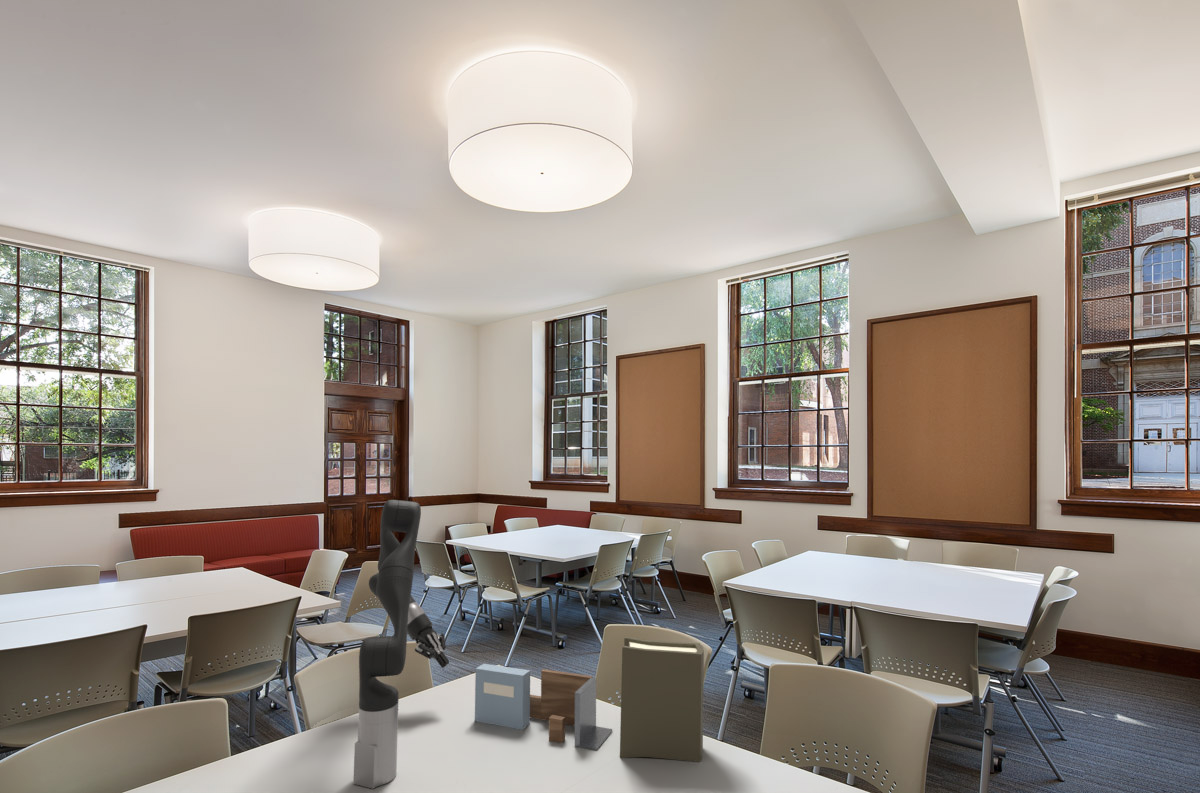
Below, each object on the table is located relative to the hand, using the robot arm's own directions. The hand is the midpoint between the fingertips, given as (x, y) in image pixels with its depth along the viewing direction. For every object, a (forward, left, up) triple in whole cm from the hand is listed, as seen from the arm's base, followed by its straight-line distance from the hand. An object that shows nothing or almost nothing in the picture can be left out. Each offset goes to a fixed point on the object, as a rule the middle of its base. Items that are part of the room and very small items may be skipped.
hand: (446, 665), depth 188 cm
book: (0, -69, -14) cm, 70 cm away
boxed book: (0, -20, -14) cm, 24 cm away
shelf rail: (+1, -31, -14) cm, 34 cm away
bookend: (0, -49, -14) cm, 51 cm away
